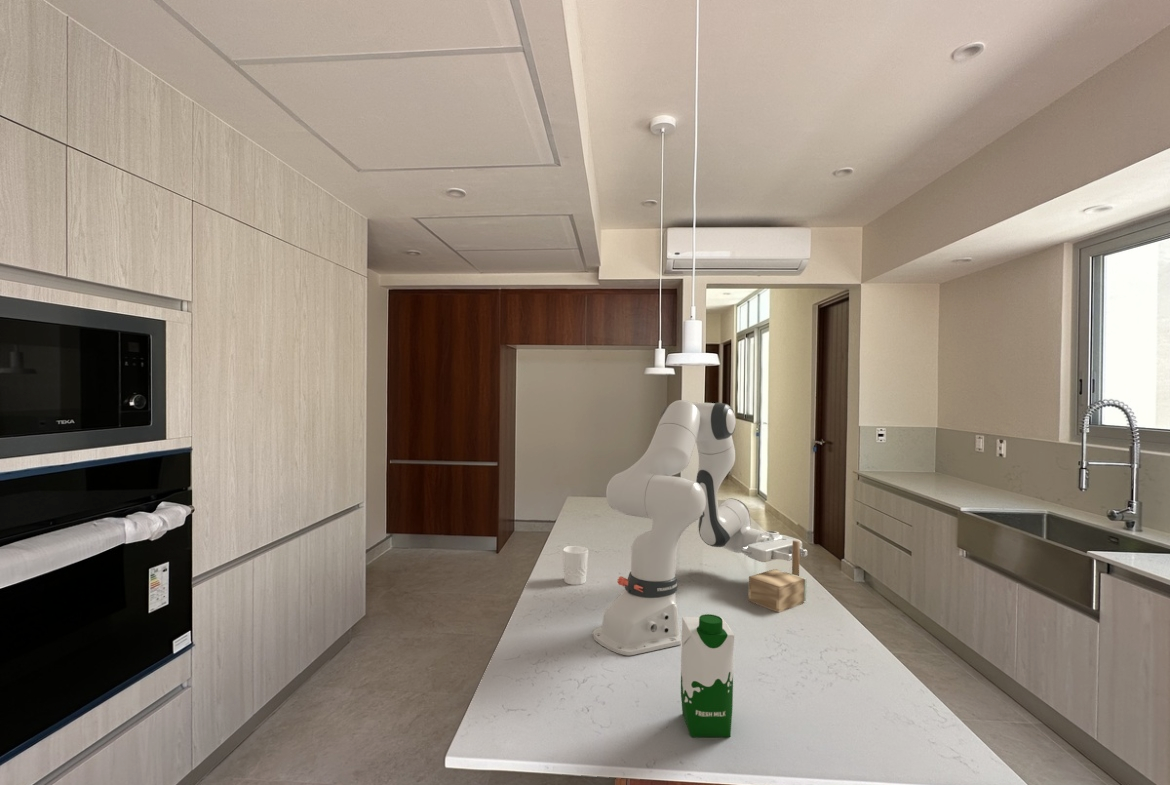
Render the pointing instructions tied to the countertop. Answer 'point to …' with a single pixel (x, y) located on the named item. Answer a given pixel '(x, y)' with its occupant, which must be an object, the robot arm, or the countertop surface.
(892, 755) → the countertop surface
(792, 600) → the tan wooden block
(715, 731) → the milk carton
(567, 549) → the white cup
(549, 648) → the countertop surface
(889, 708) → the countertop surface
